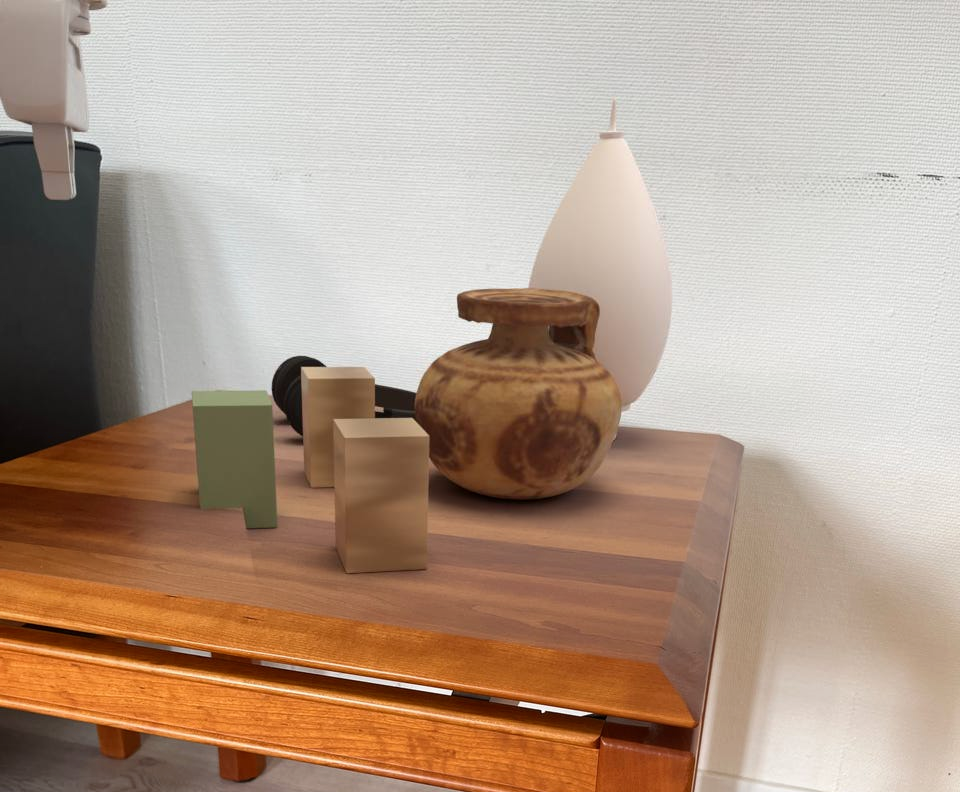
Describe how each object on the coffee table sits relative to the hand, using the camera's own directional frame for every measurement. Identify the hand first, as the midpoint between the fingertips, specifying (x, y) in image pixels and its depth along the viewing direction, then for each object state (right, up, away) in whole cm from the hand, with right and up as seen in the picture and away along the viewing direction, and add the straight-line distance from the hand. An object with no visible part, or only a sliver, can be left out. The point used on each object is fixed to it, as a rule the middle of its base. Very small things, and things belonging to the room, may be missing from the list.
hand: (61, 199), depth 73 cm
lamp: (+42, -8, +46) cm, 63 cm away
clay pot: (+33, -17, +25) cm, 45 cm away
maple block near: (+22, -25, +5) cm, 34 cm away
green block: (+10, -21, +13) cm, 26 cm away
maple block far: (+16, -16, +25) cm, 34 cm away
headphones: (+17, -7, +45) cm, 49 cm away
